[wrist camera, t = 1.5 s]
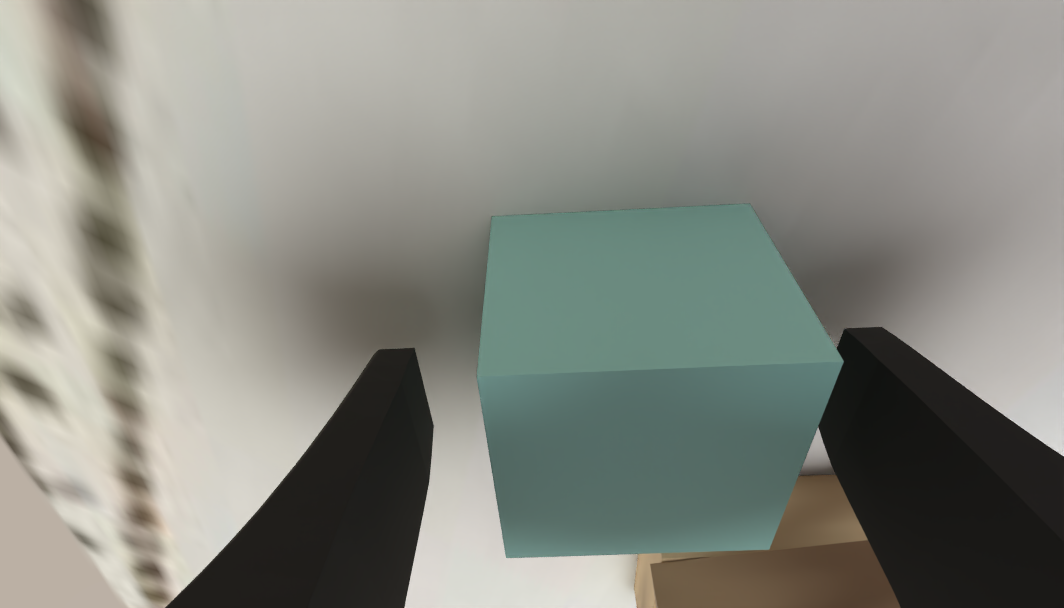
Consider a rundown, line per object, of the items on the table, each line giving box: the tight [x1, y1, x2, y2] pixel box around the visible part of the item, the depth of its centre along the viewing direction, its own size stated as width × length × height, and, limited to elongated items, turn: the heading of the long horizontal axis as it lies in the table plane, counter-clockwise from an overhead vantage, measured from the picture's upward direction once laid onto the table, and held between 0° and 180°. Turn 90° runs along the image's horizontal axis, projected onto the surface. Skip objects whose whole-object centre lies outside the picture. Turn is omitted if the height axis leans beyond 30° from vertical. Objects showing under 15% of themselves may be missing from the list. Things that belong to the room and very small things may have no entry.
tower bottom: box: [634, 475, 868, 608], centre depth 17 cm, size 6×6×2 cm
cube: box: [477, 203, 844, 558], centre depth 10 cm, size 4×4×4 cm
